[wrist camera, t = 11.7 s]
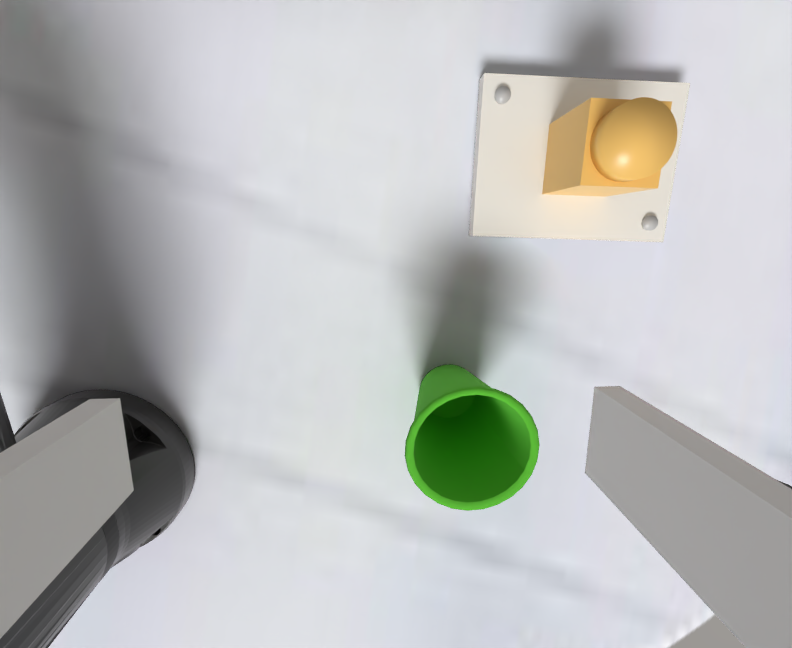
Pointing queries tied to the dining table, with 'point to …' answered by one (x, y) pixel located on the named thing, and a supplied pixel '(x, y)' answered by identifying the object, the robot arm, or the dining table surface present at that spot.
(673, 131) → the ball on cube
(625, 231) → the lid
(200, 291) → the dining table surface
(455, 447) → the cup
